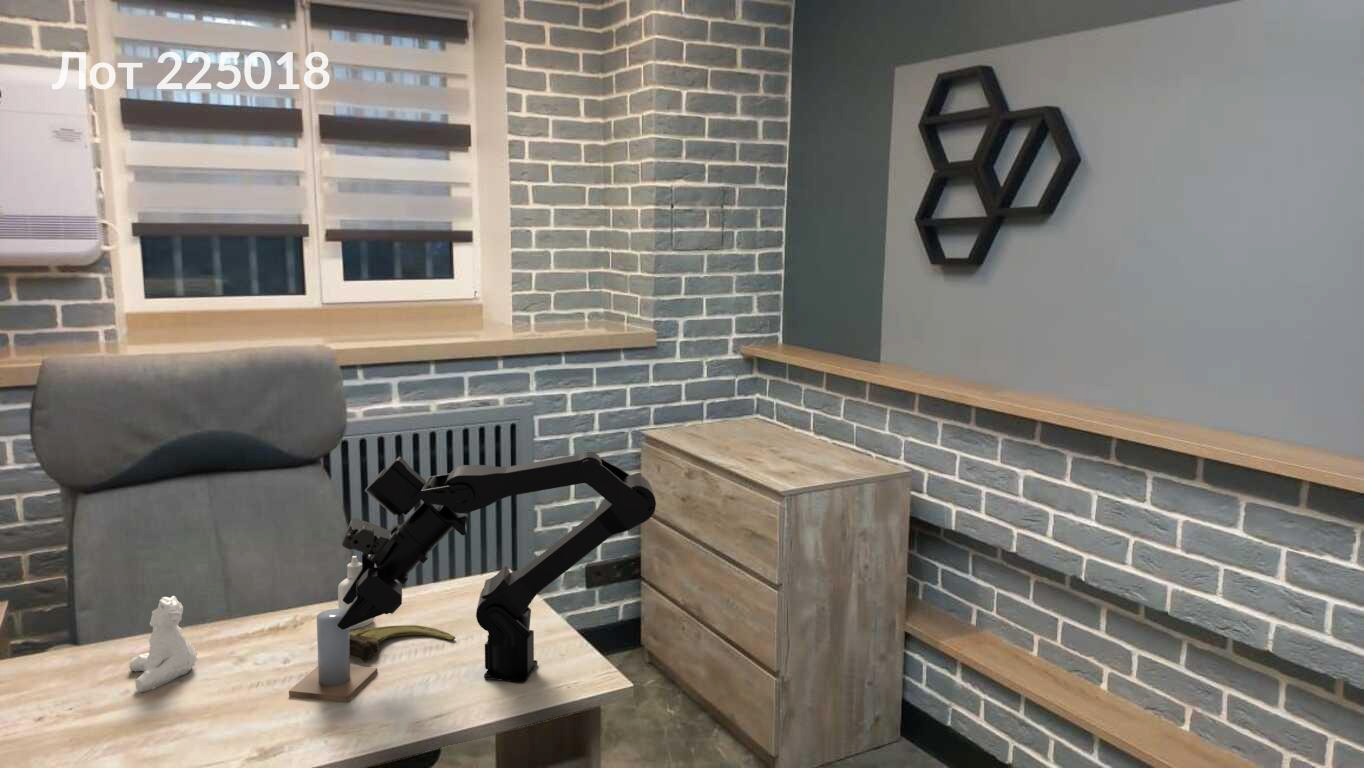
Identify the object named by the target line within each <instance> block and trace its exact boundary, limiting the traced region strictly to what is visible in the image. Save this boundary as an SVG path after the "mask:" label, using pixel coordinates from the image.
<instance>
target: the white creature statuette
mask: <svg viewBox="0 0 1364 768" xmlns="http://www.w3.org/2000/svg"><path fill="white" fill-rule="evenodd" d="M183 613H184V606H183V604H182V603H181V602H180V601H178V598H177V597H176V596H175V595H172V596H171V597H168V596H162V597H161V598H160V599H159V603H158V605H157V608H155V609H154V610H152V611H151V618H150V622H149V626H150V627H152V628H153V629H152V633H150V638H149V640H148V642H149V649H148V650H149V651H148V652H147V653H146V652H144V653H141V654H138V655H136V656H134V657H132V658H131V659H130V661H129V670H130V671H131V672H132V671H135V672H134V673H137V672H136V671H144V672H143V673H141V675H139V676H138V677H137V678H136V680H135V687H136V691H137V692H138V691H140V692H141V693H145V691H146V692H149V691H152V690H153V689H154V690H155V689H156V688H158V687H161V686H163V685H165V684H167V683H170V682H172V681H174V680H176V679H177V678H180V677H182V676H185V675H187V673H189V671H191V669H192V668H193V667H194V666H195V664H196V661H197V659H198V658H197V655H198V653H197V649H195V647H194V646H193V644H192V643H190V642H189V641H188V640H186V637H185V636H184V634H183V629H182V627H180V626H179V623H180V622H181V621H182V619H183V618H182V616H183ZM151 689H152V690H151ZM148 690H149V691H148ZM140 692H139V693H140Z"/></svg>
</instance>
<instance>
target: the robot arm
mask: <svg viewBox="0 0 1364 768" xmlns="http://www.w3.org/2000/svg"><path fill="white" fill-rule="evenodd" d="M582 484H586V485H587V486H589V487H590V488H592V489H593V490H594V491H595V492H596V493H598V494H599V495H600V496H601V497H602V498H604V499H603V500H602V501H601V503H600V504H599V505H598V507H597V508H596V510H595V511H594V512H593V513H592V514H591V515H589V516H588V517H587V518H586V519H584V520H583V521H582V522H581V523H579V524H578V525H577V526H575V527H574V528H572V530H570V531H569V532H567V533H566V534H565V535H564V536H563V537H561V538H560V539H559V540H558V541H556V542H555V543H553V544H552V545H550V547H548V548H547V549H546V550H545V551H543V552H542V553H541V554H539V555H538V556H537V557H536V558H535V559H533V560H532V561H530V562H529V563H528V564H526V566H524V567H522V568H521V569H517V570H514V571H511V572H510V570H509V568H508V566H507V565H504V566H503V567H502V568H501V569H500V570H499V572H497V573H496V575H494V576H493V577H491V578H487V579H485V582H484V585H483V588H482V589H481V591H480V594H479V598H478V603H477V607H476V612H475V613H476V615H475V617H476V622H477V623H478V625H479V627H480V628H482V630H484V631H486V632H487V633H488V635H487V641H486V642H485V644H484V669H485V670H487V671H486V672H484V674H483V678H484V679H486V680H487V679H488V680H494V681H495V680H498V681H506V682H507V681H508V682H516V683H525V682H526V681H527V680H528V678H529V677H530V676H531V674H532V673H533V672H534V670H535V669H536V667H537V666H538V660H537V659H535V653H534V652H535V651H534V650H535V648H534V647H535V646H534V645H535V640H534V639H535V638H534V637H535V636H534V635H535V633H534V630H533V629H531V627H530V626H531V614H532V608H530V607H529V606H530V604H531V603H532V602H533V600H534V599H535V597H536V596H537V595H538V594H539V593H540V592H542V591H543V590H544V589H545V588H546V587H548V586H549V585H550V584H551V583H553V582H554V581H556V580H557V579H558V578H559V577H560V576H562V575H564V574H565V573H566V572H567V571H568V570H569V569H571V568H572V567H573V566H575V565H576V564H577V563H578V562H580V561H581V560H582V559H584V558H585V557H586V556H588V555H589V554H590V553H591V552H592V551H594V550H595V549H597V548H598V547H599V546H600V545H602V544H603V543H605V542H606V541H607V540H608V539H610V538H611V537H613V536H616V535H619V534H622V533H625V532H628V531H631V530H633V529H634V528H636V527H638V526H640V525H642V524H644V523H645V522H647V521H649V520H650V519H651V518H652V517H653V515H655V512H656V506H657V501H656V497H655V494H654V491H653V487H652V485H651V483H650V481H648V480H647V478H645V477H642V475H637V474H635V475H634V474H629V473H627V472H626V471H625V470H623V469H622V468H621V467H618V466H617V465H615V464H613V463H611V462H609V461H607V460H605V459H604V458H603V457H601V456H600V455H599V454H598V453H596V452H593V451H584V452H581V453H579V454H574V455H569V456H563V457H557V458H550V459H546V460H540V461H535V462H534V461H533V462H529V463H523V464H515V465H511V466H495V465H494V466H493V465H486V464H470V465H469V464H463V465H459V466H457V467H455V468H454V469H452V470H451V472H450V473H443V474H437V475H432V476H428V477H426V479H424V478H423V477H422V476H421V475H420V474H419V473H418V472H416V471H415V470H414V469H413V468H412V467H411V466H410V465H409V464H408V463H407V461H406V460H405V459H403V457H401V456H397V458H396V459H395V460H394V461H393V462H392V463H391V464H389V466H388V467H384V468H383V469H382V471H380V472H379V474H378V475H377V476H376V477H375V478H373V480H372V481H371V483H370V484H368V486H367V487H366V488H365V490H364V492H366V493H367V494H368V495H369V496H370V497H371V498H372V499H374V500H375V501H376V502H377V503H378V504H379V505H381V506H382V507H383V508H384V509H385V510H386V511H388V512H389V513H390V514H391V515H393V517H395V516H396V515H397V516H398V517H400V516H401V515H403V516H406V515H408V513H409V512H411V511H412V509H414V508H415V506H416V505H418V503H419V502H420V501H421V502H422V503H421V504H420V505H419V506H418V507H417V508H416V509H415V511H414V512H413V513H411V515H409V516H408V518H406V520H405V521H404V522H403V523H402V524H399V523H397V525H396V524H394V525H393V526H392V528H389V530H388V529H386V528H384V527H382V526H380V525H377V524H374V523H372V522H368V521H366V520H363V519H360V518H356V517H352V518H351V520H350V521H349V522H350V523H348V527H347V528H346V531H345V533H344V535H343V539H342V542H341V546H342V547H343V548H345V549H348V550H354V551H357V552H361V553H362V554H361V563H362V568H361V570H360V572H359V573H358V575H357V577H356V578H355V580H354V582H353V583H352V585H351V587H350V588H349V590H348V591H347V593H346V595H345V596H344V598H343V602H345V603H346V604H350V603H352V604H351V605H350V606H349V608H348V609H347V611H346V612H345V614H344V615H343V617H342V618H341V620H340V621H339V623H338V625H337V626H338V627H339V628H341V629H342V630H344V629H346V628H349V627H351V626H354V625H356V624H358V623H361V622H363V621H366V620H368V619H371V618H374V619H375V618H376V617H379V616H382V615H388V614H391V615H393V614H394V613H395V612H396V611H397V610H398V609H399V607H401V605H402V603H403V586H402V585H404V584H406V582H407V581H408V580H409V575H410V573H411V572H412V571H413V570H414V569H415V568H416V567H417V566H418V565H419V564H420V563H421V564H425V562H426V561H427V560H428V559H429V554H430V552H431V551H432V550H433V549H434V548H435V547H436V546H437V545H438V544H439V543H440V542H441V541H442V540H443V539H444V538H445V537H446V536H447V535H448V534H449V532H451V531H452V530H453V529H454V530H455V531H456V532H458V533H459V534H460V535H461V536H465V535H466V534H467V529H468V527H467V519H468V514H469V513H471V512H475V511H477V510H480V509H484V508H486V507H488V506H491V505H492V504H494V503H496V502H498V501H500V500H502V499H505V498H509V497H511V496H518V495H524V494H530V493H535V492H540V491H547V490H551V489H558V488H563V487H569V486H574V485H575V486H576V485H582ZM397 581H398V582H400V583H398V582H397ZM401 584H402V585H401Z"/></svg>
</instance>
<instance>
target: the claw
mask: <svg viewBox="0 0 1364 768" xmlns="http://www.w3.org/2000/svg"><path fill="white" fill-rule="evenodd" d="M404 636H427V637H435V638H439V639H445V640H450V641H455V639H456V637H455V636H454V635H453V634H451V633H449V632H446V631H443V630H441V629H438V628H435V627H429V626H425V625H424V626H423V625H418V624H409V625H407V624H406V625H405V624H402V625H400V624H399V625H385V626H378V627H370V628H369V627H368V628H363V629H359V630H353V631H349V640H350V657H355V658H358V659H359V660H360V661H362V662H366V661H369V659H370V656H374V655H377V653H379V643H380V642H382V641H384V640H386V639H388V638H394V637H395V638H396V637H404Z"/></svg>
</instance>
